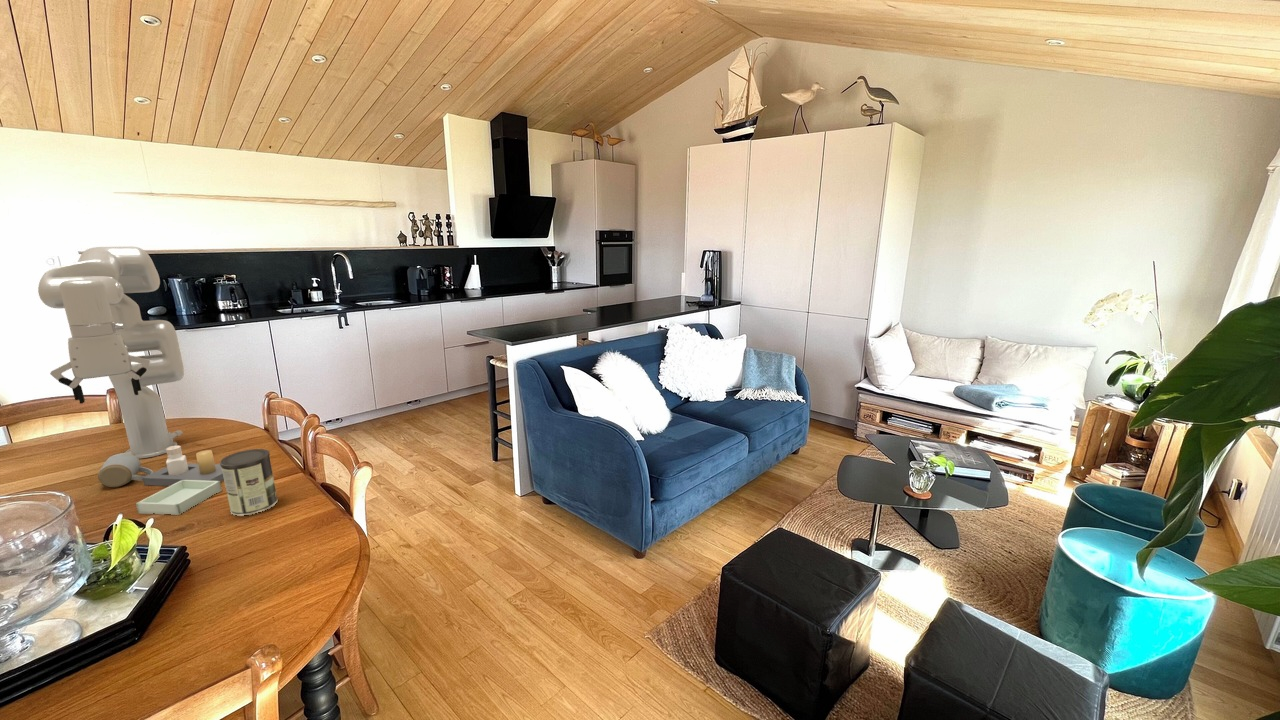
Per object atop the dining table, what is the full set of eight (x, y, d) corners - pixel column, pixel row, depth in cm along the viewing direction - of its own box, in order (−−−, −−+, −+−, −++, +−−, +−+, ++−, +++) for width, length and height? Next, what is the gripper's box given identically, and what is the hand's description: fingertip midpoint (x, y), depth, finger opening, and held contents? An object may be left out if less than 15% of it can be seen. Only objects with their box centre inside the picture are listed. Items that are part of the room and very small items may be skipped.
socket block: (176, 469, 158) (170, 444, 156) (239, 471, 156) (234, 446, 155) (144, 485, 148) (137, 458, 146) (211, 487, 147) (205, 460, 145)
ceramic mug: (98, 491, 144) (92, 466, 142) (108, 480, 151) (102, 455, 149) (150, 483, 149) (144, 458, 148) (156, 472, 156) (151, 448, 154)
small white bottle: (188, 478, 152) (181, 448, 150) (170, 482, 150) (163, 451, 147) (189, 473, 155) (183, 443, 153) (172, 476, 153) (165, 446, 151)
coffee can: (259, 494, 143) (251, 446, 140) (287, 500, 140) (278, 451, 137) (219, 512, 134) (209, 461, 131) (248, 519, 131) (238, 468, 127)
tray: (184, 489, 146) (182, 479, 145) (221, 490, 145) (219, 480, 144) (138, 513, 133) (135, 503, 132) (179, 515, 132) (176, 504, 132)
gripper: (141, 324, 135) (156, 388, 139) (41, 333, 123) (60, 402, 127) (142, 328, 129) (157, 394, 133) (38, 337, 118) (58, 409, 122)
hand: (110, 398), depth 130 cm, fingers open, 9 cm apart
